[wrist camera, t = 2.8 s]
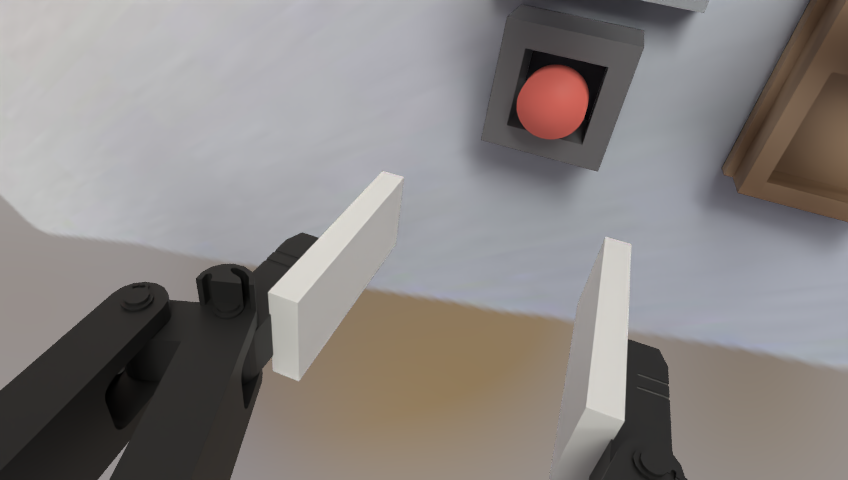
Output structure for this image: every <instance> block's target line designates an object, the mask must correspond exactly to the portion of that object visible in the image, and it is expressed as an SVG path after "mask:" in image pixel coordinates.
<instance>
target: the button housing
mask: <svg viewBox="0 0 848 480" xmlns="http://www.w3.org/2000/svg"><path fill="white" fill-rule="evenodd" d="M643 49H644V30H639V29H634V28H630V27H625V26H620V25H616V24H611V23H606V22H602V21H597V20H592V19H588V18H583V17H578V16H574V15H569V14H564V13H560V12H555V11H550V10H546V9H541V8H536V7H532V6H527V5H522V4H521V5H520V6H519V7H518V8H517V9H516V10H515V11H513V12H512V13H511V14H510V15H509V16H508V17H507V20H506V25H505V30H504V34H503V39H502V44H501V48H500V53H499V58H498V62H497V67H496V72H495V77H494V81H493V86H492V91H491V95H490V100H489V105H488V109H487V114H486V119H485V124H484V128H483V133H482V138H481V140H483V141H487V142H491V143H494V144H498V145H502V146H505V147H509V148H513V149H517V150H520V151H524V152H528V153H531V154H535V155H539V156H542V157H546V158H550V159H553V160H557V161H561V162H565V163H568V164H572V165H576V166H579V167H583V168H587V169H590V170H594V171H598V170H599V167H600V165H601V162H602V159H603V156H604V154H605V151H606V148H607V146H608V143H609V140H610V138H611V135H612V132H613V130H614V127H615V124H616V121H617V119H618V116H619V113H620V111H621V108H622V105H623V103H624V100H625V97H626V94H627V92H628V89H629V86H630V84H631V81H632V78H633V76H634V73H635V70H636V68H637V65H638V62H639V59H640V57H641V54H642V51H643ZM533 50H536V51H540V52H544V53H549V54H553V55H557V56H562V57H566V58H570V59H575V60H579V61H583V62H588V63H592V64H596V65H601V66H605V67H606V70H605V73H604V76H603V79H602V82H601V85H600V88H599V91H598V94H597V97H596V100H595V103H594V105H593V108H592V111H591V114H590V117H589V120H588V121H587V120H584V119H583V121H582V123H581V124H580V126H579V127H578V128H577V129H576V130H575V131H574V132H572V133H571V134H569V135H567V136H565V137H563V138H559V139H543V138H540V137H537V136H535V135H533V134H531V133H530V132H529V131H527V130H526V129H525V127H524V126H523V125H522V123H521V122H520V120H519V117H518V114H517V98H518V95H519V93H520V91H521V89H522V87H523V86H524V84H525V81H526V77H527V73H528V69H529V65H530V61H531V57H532V53H533Z"/></svg>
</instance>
